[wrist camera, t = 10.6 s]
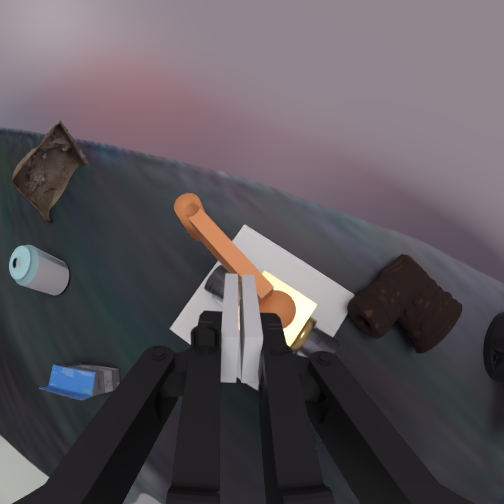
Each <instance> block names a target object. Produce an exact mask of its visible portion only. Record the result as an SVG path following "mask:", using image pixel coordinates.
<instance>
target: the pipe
mask: <svg viewBox="0 0 504 504" xmlns="http://www.w3.org/2000/svg"><path fill="white" fill-rule="evenodd" d="M347 310H348V313H349V315H350V317H351V318H352V320H353V321H354V322H355V324H356V325H357V326H358V327H359V328H360V329H361V330H362V331H364V332H365V333H366V334H368V335H370V336H371V337H373V338H380V337H382V336H383V335H384V334H385V333H386V332H388V330H389V328H390V327H392V325H393V324H394V322H395V321H396V320H397V321H398V322H400V323H401V324H402V326H403V328H405V329H406V330H407V334H408V336H409V337H410V338H412V341H413V346H414V347H415V350H416V352H417V353H424V352H426V351H428V350H430V349H432V348H433V347H434V346H436V345H437V344H438V343H439V342H440V341H441V340H442V339H444V337H445V336H446V335H447V334H448V333H449V332H450V331H451V329H452V328H453V327H454V325H455V324H456V322H457V320H458V318H459V317H460V315H461V312H462V304H461V303H459V302H458V301H457V300H455V299H453V298H452V295H451V294H450V293H449V292H445V291H443V290H442V288H441V287H440V286H437V284H436V282H435V281H434V280H432V279H431V278H430V277H429V276H428V274H427V273H426V272H425V271H424V270H423V269H422V268H421V267H420V266H419V265H418V264H417V263H416V262H415V261H414V260H413V259H412V258H411V257H410V256H408V255H403V254H402V255H400V256H399V257H398V258H397V259H395V260H394V261H393V262H392V263H390V264H389V265H388V266H386V267H385V268H383V269H382V270H381V272H380V275H379V278H378V280H377V281H375V282H372V283H370V284H369V285H368V286H367V287H366V288H365V289H364V290H361V291H359V292H358V293H356V294H355V295H354V297H353V298H352V299H351V300H350V301H349V303H348V306H347Z"/></svg>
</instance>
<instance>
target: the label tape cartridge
mask: <svg viewBox="0 0 504 504" xmlns="http://www.w3.org/2000/svg"><path fill="white" fill-rule="evenodd" d="M119 384H120V371H119V369H118V368H110V367H103V366H97V365H90V364H84V363H72V364H54V365H53V368H52V373H51V377H50V382H49V386H47V387H42V388H39V389H42V390H45V391H49V392H52V393H56V394H59V395H62V396H66V397H70V398H74V399H78V400H85V399H87V398H89V397H92V396H95V395H100V394H103V393H107V392H111V391H114V390H115V389H116V388H117V386H118V385H119ZM60 391H62V392H66V393H62V392H60ZM67 393H71V394H67Z"/></svg>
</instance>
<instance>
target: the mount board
mask: <svg viewBox="0 0 504 504" xmlns="http://www.w3.org/2000/svg"><path fill="white" fill-rule="evenodd" d="M232 242H233V244H234V245H235V246H236V247H237V248H238V249H239V250H240V251H241V252H242V253H243V254H244V255H245V256H246V257H247V258H248V260H249V261H250V262H251V263H252V264H253V265H254V266H255V267H256V268H257V269H258V270H259V271H260V272H261V273H263V272H264V270H265V271H266V272H268V273H269V274H271V275H272V276H274V277H276V278H277V279H279V280H280V281H282V282H283V283H285V284H286V285H288V286H289V287H291V288H293V289H294V290H296V291H297V292H299V293H300V294H302V295H303V296H305V297H307V298H308V299H310V300H311V301H313V302H314V303H316V304H317V306H316V307H315V309H314V310H313V312H312V314H311V315H310V316H311V317H313V318H314V319H316V320H317V323H316V325H315V326H316V327H318V328H319V329H321V330H322V331H324V332H326V333H327V334H329V335H330V336H332V337H334V335H335V334H336V332H337V330H338V329H339V327H340V325H341V324H342V322H343V320H344V318H345V317H346V315H347V313H348V310H347V306H348V303H349V301H350V300H351V299H352V298H353V297H354V294H353V293H351V292H350V291H348V290H346V289H345V288H343V287H342V286H340V285H339V284H337V283H336V282H334V281H333V280H331V279H330V278H328V277H326V276H325V275H323V274H322V273H320V272H319V271H317V270H316V269H314V268H312V267H311V266H309V265H308V264H306V263H305V262H303V261H302V260H300V259H298V258H297V257H295V256H294V255H292V254H291V253H289V252H287V251H286V250H284V249H283V248H281V247H280V246H278V245H276V244H275V243H273V242H272V241H270V240H268V239H267V238H265V237H264V236H262V235H260V234H259V233H257V232H256V231H254V230H252V229H251V228H249V227H248V226H246V225H244V226H243V227H242V229H241V230H240V231H239V233H238V234H237V236H236V237H235V238H234V240H233V241H232ZM219 265H222V264H221V263H220V262H219V261H218V262H217V263H216V264H215V266H214V267H213V269H212V270H211V271H210V273H209V274H208V276H207V277H206V278H205V280H204V281H203V283H202V284H201V285H200V287H199V288H198V290H197V291H196V292H195V294H194V295H193V297H192V298H191V299H190V301H189V302H188V304H187V305H186V306H185V308H184V309H183V311H182V312H181V314H180V315H179V316H178V318H177V319H176V321H175V322H174V324H173V325H172V326H171V328H170V330H172V331H173V332H174V333H176V334H177V335H178V336H179V337H181V338H182V339H183V340H185V341H186V342H187V343H189V344H190V345H191V333H190V332H191V330H192V329H193V328H194V327H196V326H198V320H199V315H200V314H201V313H202V312H203V311H204V310H207V311H223V306H222V305H221V304H219V303H218V302H216V301H215V300H214V299H212V298H211V297H212V296H213V295H211V294H210V293H208V292H207V291H206V290H204V287H205V284H206V282H207V280H208V278H209V277H210V275H211V274H212V272H213V271H214V270H215V269H216V268H217V267H218V266H219ZM237 378H239V379H240V380H241V358H240V330H239V348H238V362H237ZM246 384H248V385H250V386H251V387H253V388H254V389H256V390H257V391H258V385H259V380H258V383H246Z"/></svg>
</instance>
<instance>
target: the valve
mask: <svg viewBox="0 0 504 504" xmlns="http://www.w3.org/2000/svg"><path fill="white" fill-rule="evenodd" d="M226 273H229V272H228V271H227V269H226V268H225V267H224V266H223V265H219V266H218V267H217V268H216V269H215V270H214V271H213V272H212V274H211V275H210V277H209V278H208V280H207V282H206V284H205V287H204V290H206V291H207V292H208V293H210V294H211V295H213V296H212V297H211V298H212V299H214V300H215V301H216V302H218V303H219V304H221V305H222V306H223V300H224V287H225V274H226ZM229 274H230V273H229ZM262 274H263V276H264V277H265V278H266V279H267V280H268V281H269V282H270V283H271V284H272V285H273V286H274V290H280V291H284V292H286V293H287V294H289V295H290V296H291V297H292V299H293V300H294V302H295V305H296V315H295V318H294V320H293V322H292V323H291V324H290V325H289V326H288V327H286V328H284V329H283V330H284V334H285V338H286V342H287V345H288V346H290V347H291V349H292V350H293V353H295V354H297V355H300V356H304V357H309V358H310V356H311V355H312V354H313V353H314V352H317V351H327V352H330V353H333V354H335V352H336V350H337V348H338V346H339V341H338V340H337V339H335V338H333V337H332V336H330V335H329V334H327V333H326V332H324V331H322V330H321V329H319V328H318V327H316V326H315V325H316V323H317V320H316V319H314V318H313V317H311V316H310V315H311V314H312V312H313V310H314V309H315V307H316V306H317V304H316V303H314V302H313V301H311V300H310V299H308V298H307V297H305V296H303V295H302V294H300V293H299V292H297V291H296V290H294V289H293V288H291V287H289V286H288V285H286V284H285V283H283V282H282V281H280V280H279V279H277V278H276V277H274V276H272V275H271V274H269V273H268V272H266V271H265V270H264V272H263V273H262ZM240 294H241V285H240V284H239V283H238V305H239V308H240ZM239 330H240V323H239Z"/></svg>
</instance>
